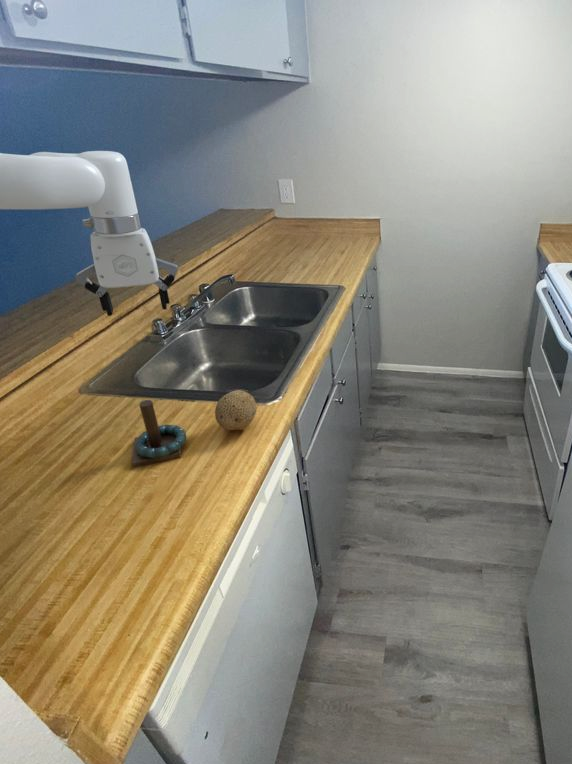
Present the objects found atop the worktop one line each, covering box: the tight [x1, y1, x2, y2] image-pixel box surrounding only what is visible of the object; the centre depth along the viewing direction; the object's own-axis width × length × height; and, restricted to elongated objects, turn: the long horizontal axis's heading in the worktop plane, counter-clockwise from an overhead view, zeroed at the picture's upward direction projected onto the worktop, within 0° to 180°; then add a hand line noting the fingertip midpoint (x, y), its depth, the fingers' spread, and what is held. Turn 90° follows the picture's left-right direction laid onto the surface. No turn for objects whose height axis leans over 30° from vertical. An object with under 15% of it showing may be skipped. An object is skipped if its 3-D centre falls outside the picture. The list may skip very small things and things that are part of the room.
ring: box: [135, 424, 187, 458], centre depth 102 cm, size 10×10×2 cm
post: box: [131, 399, 182, 468], centre depth 100 cm, size 9×9×12 cm
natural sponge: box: [214, 389, 258, 431], centre depth 108 cm, size 9×9×10 cm
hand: (138, 310), depth 94 cm, fingers open, 9 cm apart
